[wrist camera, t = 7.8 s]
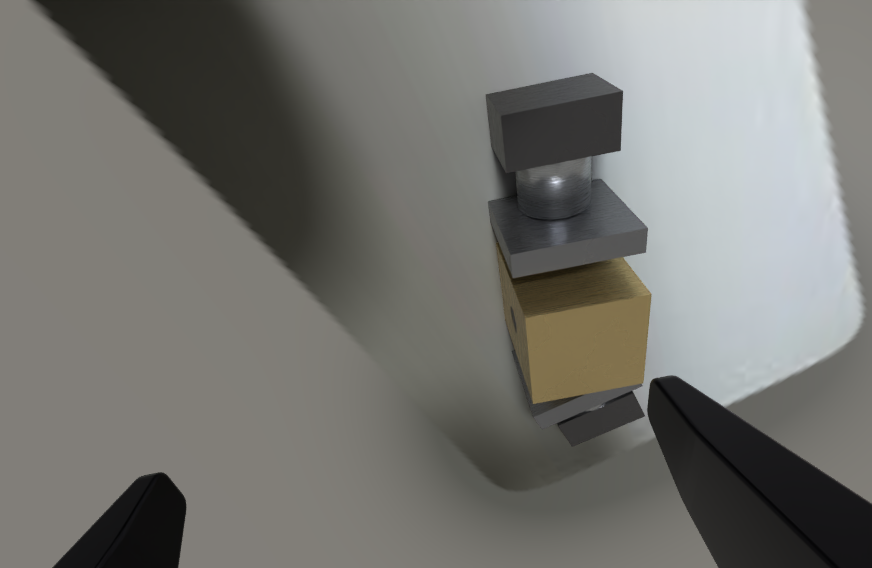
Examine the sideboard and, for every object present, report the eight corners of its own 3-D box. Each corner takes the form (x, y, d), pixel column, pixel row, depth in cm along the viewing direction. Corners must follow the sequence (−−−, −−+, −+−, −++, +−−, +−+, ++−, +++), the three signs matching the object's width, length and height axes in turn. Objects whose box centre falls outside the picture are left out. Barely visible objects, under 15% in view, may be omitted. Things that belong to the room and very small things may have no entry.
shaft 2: (475, 96, 18) (498, 133, 15) (603, 70, 18) (658, 101, 15) (490, 222, 21) (513, 278, 18) (600, 200, 21) (645, 252, 18)
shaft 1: (511, 351, 26) (533, 417, 22) (598, 309, 25) (635, 372, 21) (550, 408, 29) (575, 476, 25) (629, 373, 27) (667, 438, 24)
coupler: (505, 320, 25) (532, 403, 20) (495, 242, 22) (525, 318, 18) (594, 302, 25) (643, 383, 20) (595, 222, 22) (651, 294, 17)
